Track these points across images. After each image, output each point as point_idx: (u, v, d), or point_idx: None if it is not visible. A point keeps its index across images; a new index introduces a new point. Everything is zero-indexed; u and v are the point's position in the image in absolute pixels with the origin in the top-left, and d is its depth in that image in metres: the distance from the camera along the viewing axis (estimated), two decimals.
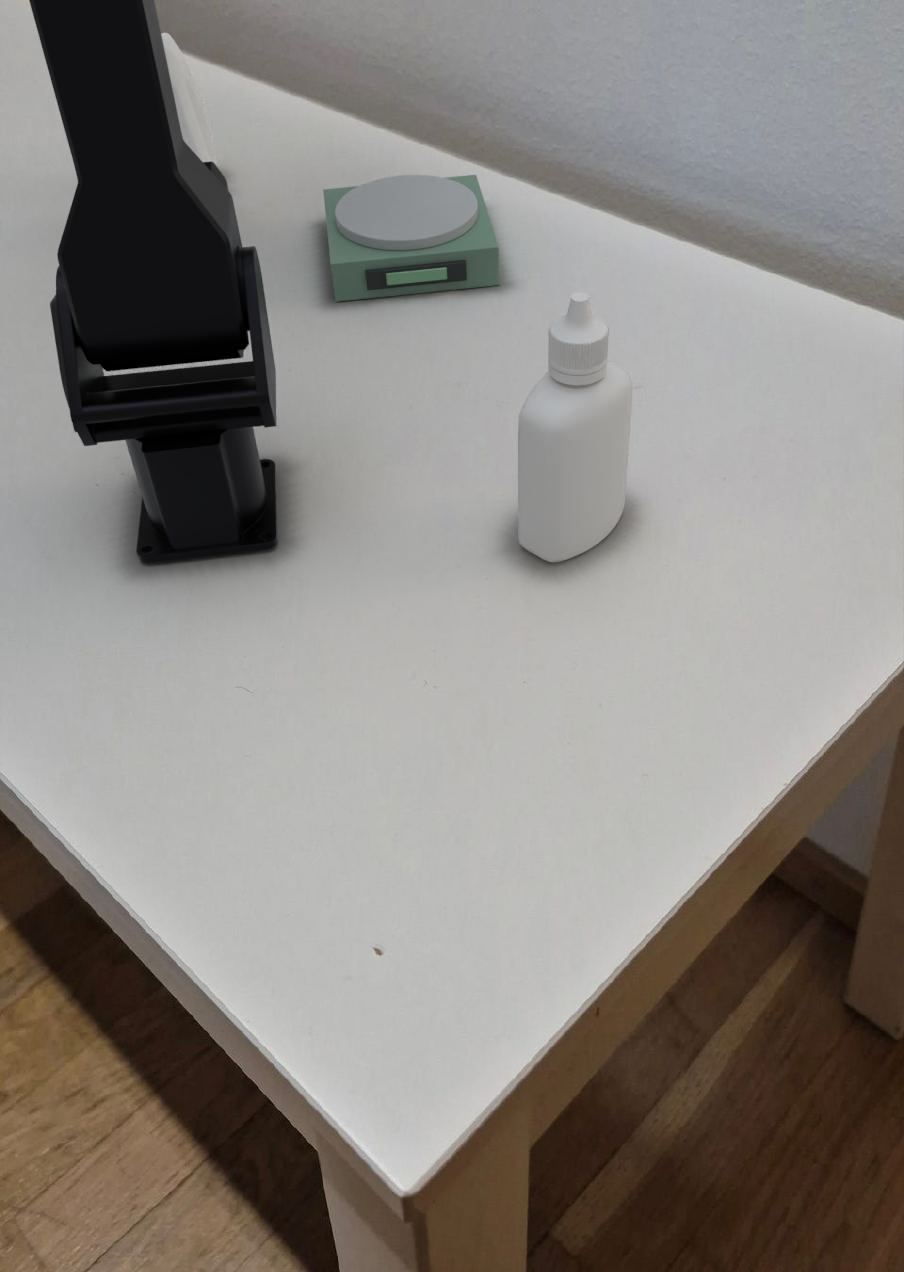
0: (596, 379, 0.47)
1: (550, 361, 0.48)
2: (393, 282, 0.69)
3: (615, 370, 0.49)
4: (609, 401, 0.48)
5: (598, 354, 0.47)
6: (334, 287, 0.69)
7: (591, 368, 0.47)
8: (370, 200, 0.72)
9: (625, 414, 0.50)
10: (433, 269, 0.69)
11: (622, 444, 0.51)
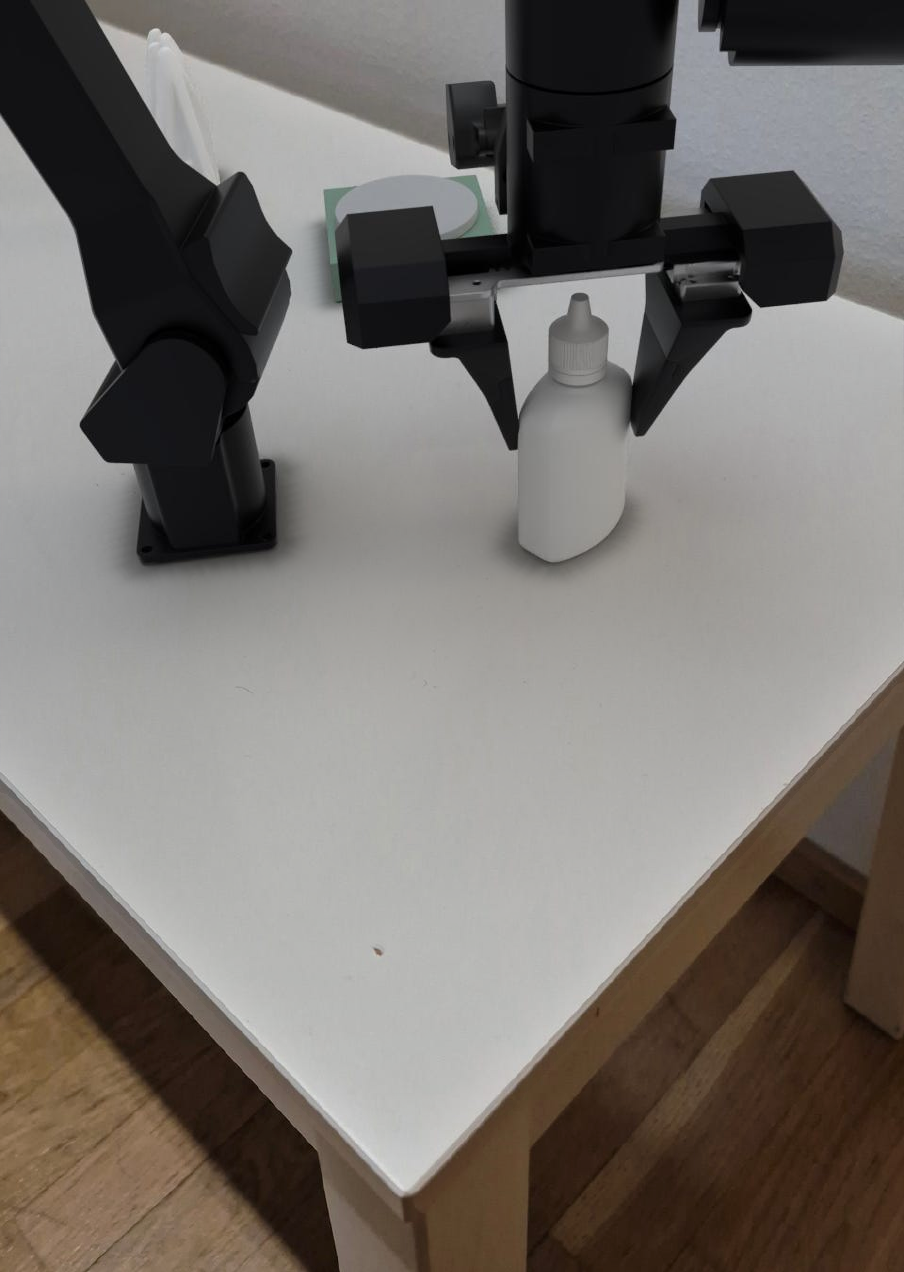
0: (596, 379, 0.47)
1: (550, 361, 0.48)
2: None
3: (615, 370, 0.49)
4: (609, 401, 0.48)
5: (598, 354, 0.47)
6: (334, 287, 0.69)
7: (591, 369, 0.47)
8: (370, 200, 0.72)
9: (625, 414, 0.50)
10: None
11: (622, 444, 0.51)
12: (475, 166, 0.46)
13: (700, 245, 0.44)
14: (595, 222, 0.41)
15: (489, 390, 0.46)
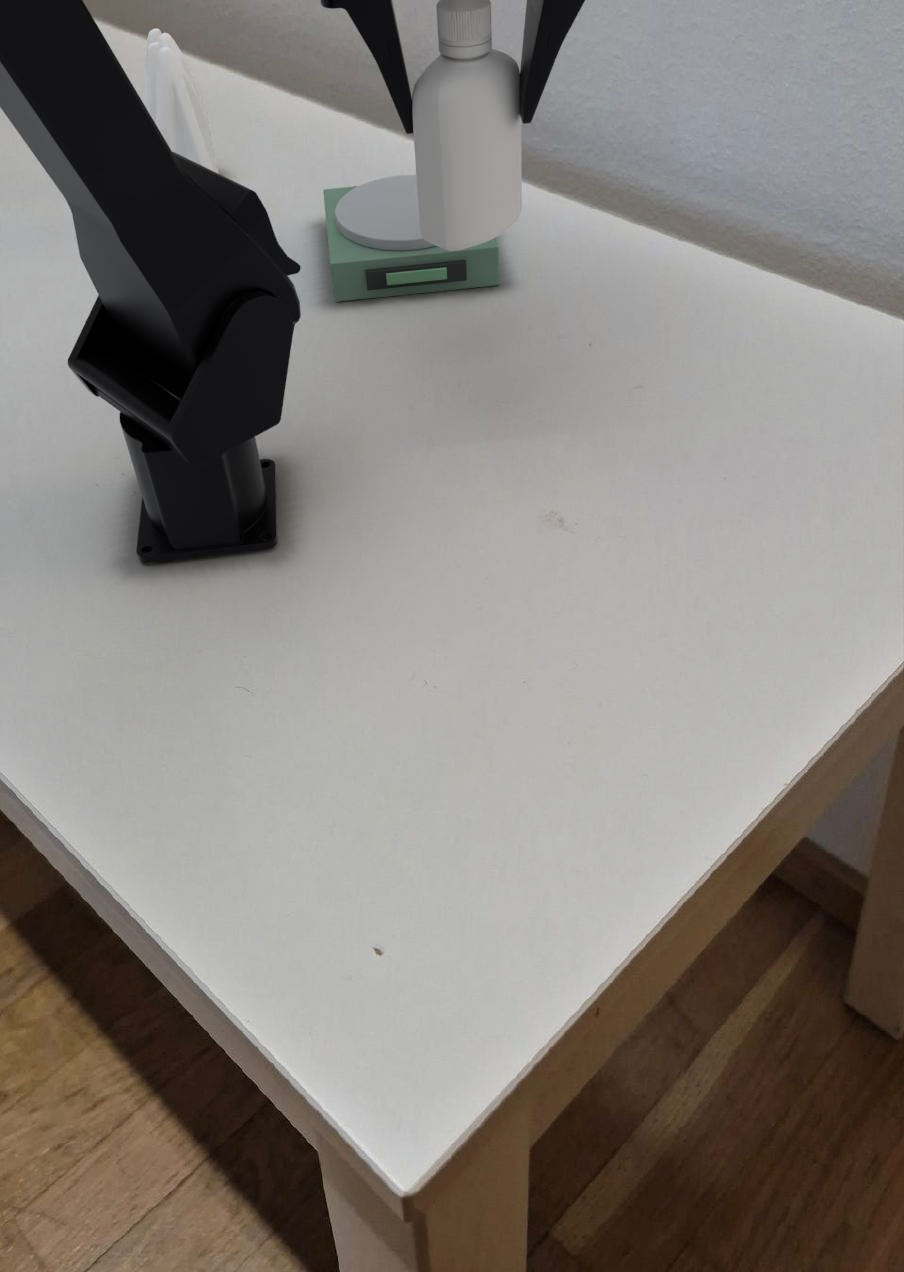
0: (480, 53, 0.52)
1: (439, 37, 0.52)
2: (393, 282, 0.69)
3: (502, 55, 0.54)
4: (493, 78, 0.53)
5: (480, 25, 0.51)
6: (334, 287, 0.69)
7: (474, 40, 0.52)
8: (370, 200, 0.72)
9: (513, 100, 0.55)
10: (433, 269, 0.69)
11: (512, 133, 0.56)
12: None
13: None
14: None
15: (378, 52, 0.51)
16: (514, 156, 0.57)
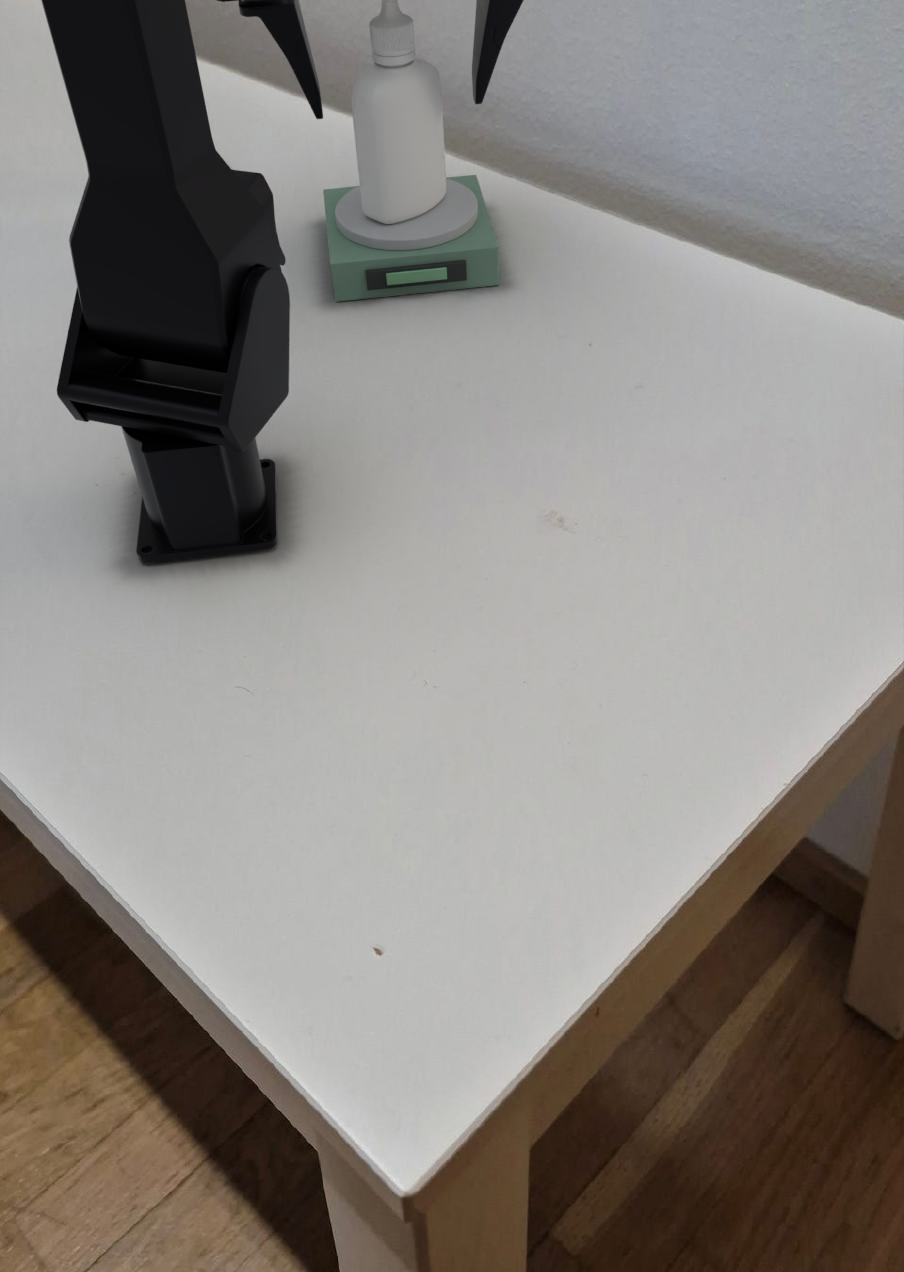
0: (405, 61, 0.64)
1: (372, 48, 0.64)
2: (393, 282, 0.69)
3: (424, 62, 0.66)
4: (417, 81, 0.65)
5: (405, 39, 0.64)
6: (334, 287, 0.69)
7: (400, 51, 0.64)
8: None
9: (434, 99, 0.67)
10: (433, 269, 0.69)
11: (435, 126, 0.68)
12: None
13: None
14: None
15: (289, 52, 0.63)
16: (437, 145, 0.69)
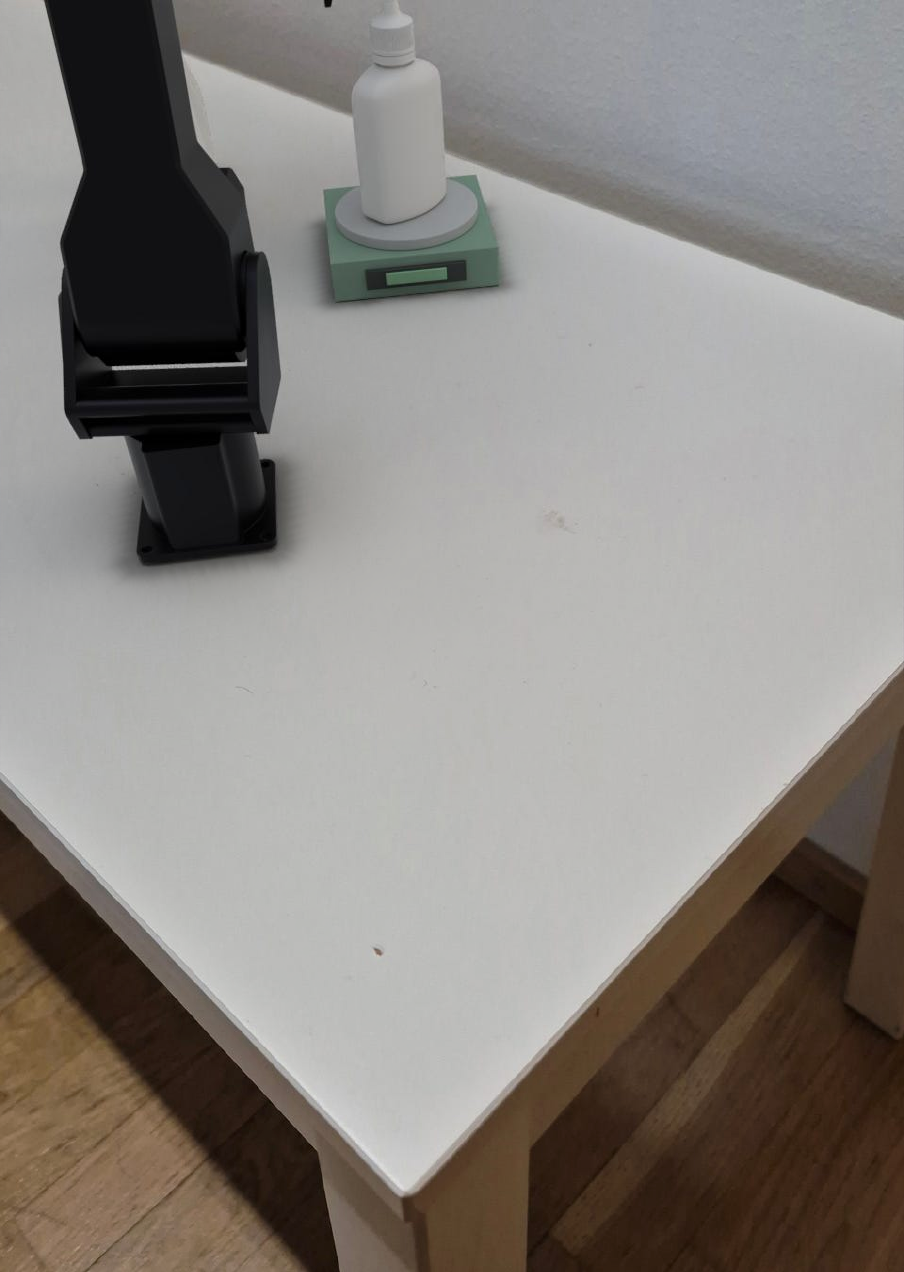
0: (405, 61, 0.64)
1: (372, 48, 0.64)
2: (393, 282, 0.69)
3: (424, 62, 0.66)
4: (417, 81, 0.65)
5: (405, 39, 0.64)
6: (334, 287, 0.69)
7: (400, 51, 0.64)
8: None
9: (434, 99, 0.67)
10: (433, 269, 0.69)
11: (435, 126, 0.68)
12: None
13: None
14: None
15: None
16: (437, 145, 0.69)
